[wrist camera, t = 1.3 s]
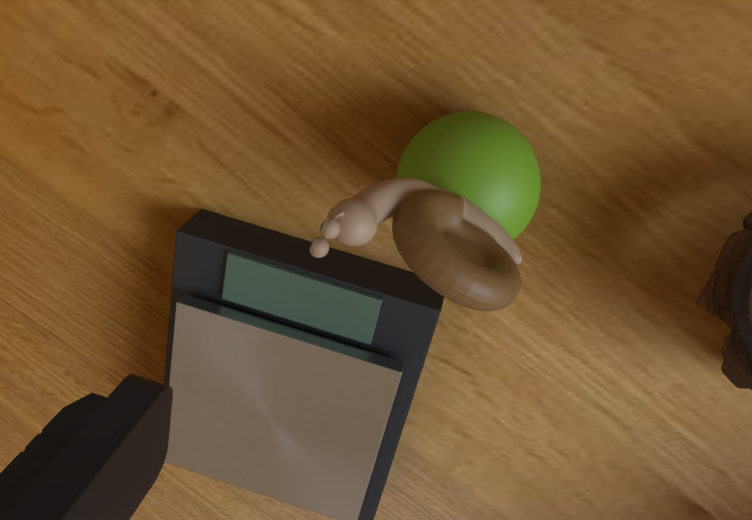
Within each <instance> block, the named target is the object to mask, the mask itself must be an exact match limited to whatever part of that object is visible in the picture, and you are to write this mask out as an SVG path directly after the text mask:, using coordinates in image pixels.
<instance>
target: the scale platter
mask: <svg viewBox="0 0 752 520" xmlns="http://www.w3.org/2000/svg"><path fill="white" fill-rule="evenodd" d="M404 366H405V363H404V362H401V361H398V360H395V359H392V358H389V357H385V356H382V355H379V354H376V353H373V352H369V351H366V350H363V349H360V348H356V347H353V346H350V345H347V344H344V343H340V342H337V341H334V340H331V339H328V338H324V337H321V336H318V335H315V334H312V333H308V332H305V331H302V330H299V329H296V328H292V327H289V326H286V325H283V324H280V323H276V322H273V321H270V320H267V319H264V318H260V317H257V316H254V315H251V314H248V313H244V312H241V311H238V310H235V309H232V308H228V307H225V306H222V305H219V304H216V303H212V302H209V301H206V300H203V299H200V298H196V297H193V296H190V295H187V294H184V295H183V296H182V297H181V298H180V299H179V300H178V301H177V303H176V314H175V325H174V337H173V348H172V359H171V370H170V382H169V386H171V387H172V390H173V399H172V410H171V421H170V432H169V443H168V450H167V455H166V458H165V461H164V462H166V463H169V464H172V465H175V466H178V467H181V468H184V469H187V470H190V471H193V472H196V473H199V474H202V475H205V476H208V477H211V478H214V479H217V480H220V481H223V482H226V483H229V484H232V485H235V486H238V487H241V488H244V489H247V490H250V491H253V492H256V493H259V494H262V495H265V496H268V497H271V498H274V499H277V500H280V501H283V502H286V503H289V504H292V505H295V506H298V507H301V508H304V509H307V510H310V511H313V512H316V513H319V514H322V515H325V516H328V517H331V518H334V519H337V520H358V517H359V513H360V510H361V507H362V504H363V500H364V497H365V494H366V491H367V487H368V484H369V481H370V477H371V474H372V471H373V468H374V464H375V461H376V458H377V454H378V451H379V448H380V445H381V441H382V438H383V435H384V431H385V428H386V425H387V422H388V418H389V415H390V412H391V409H392V405H393V402H394V399H395V395H396V392H397V389H398V386H399V382H400V379H401V376H402V372H403V369H404Z"/></svg>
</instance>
